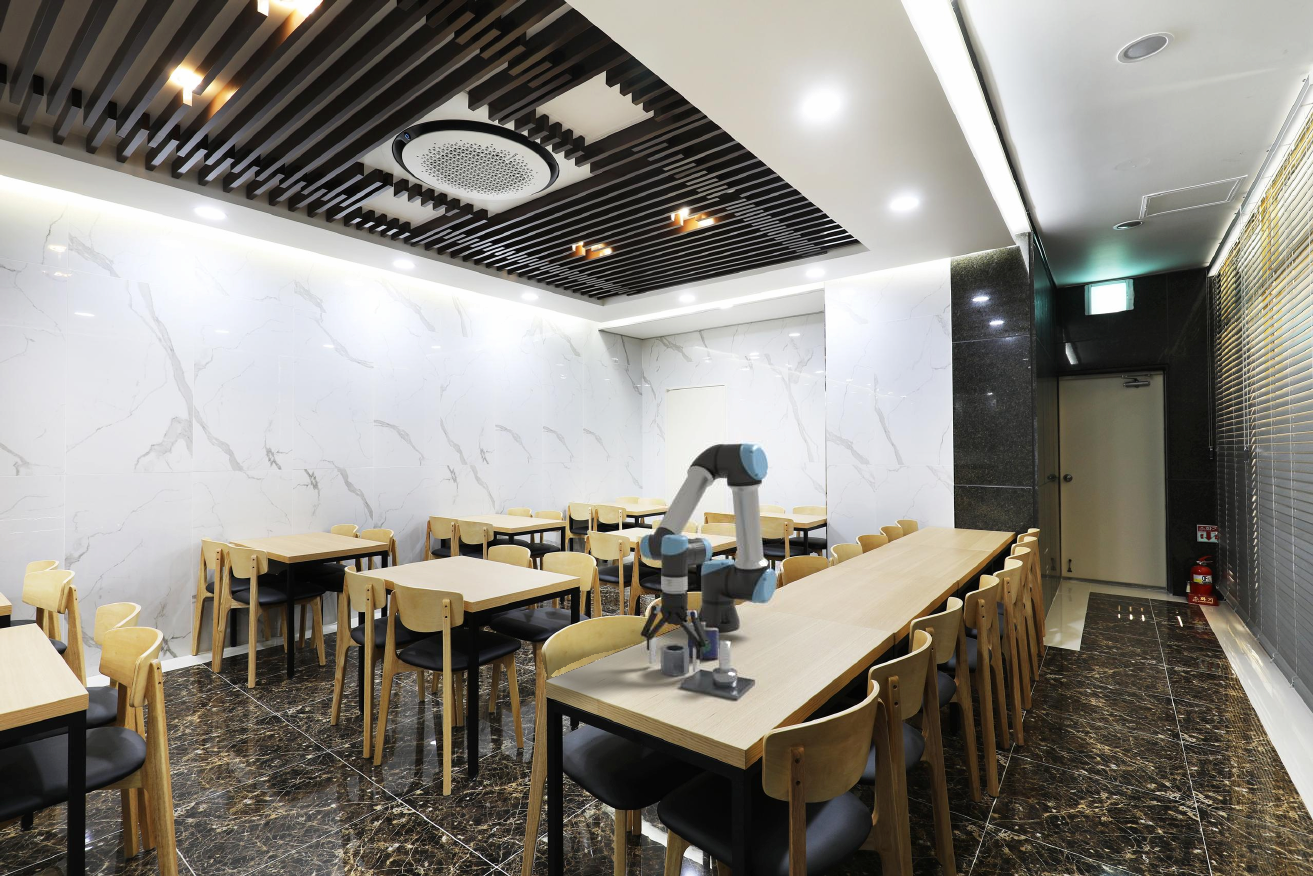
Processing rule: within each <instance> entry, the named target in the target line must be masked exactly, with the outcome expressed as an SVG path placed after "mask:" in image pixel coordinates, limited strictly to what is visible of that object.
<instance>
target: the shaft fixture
mask: <svg viewBox="0 0 1313 876" xmlns="http://www.w3.org/2000/svg"><path fill="white" fill-rule="evenodd" d="M731 643H732V642H731V640H729V639H720V640H718V645H719V648H718V652H719V658H718V667H715V668H714V669H712V670H706V669H701V668H700V670H698V671H697V672H694V673H693V674H691V675H690V676H689V677H688V678H685V679H684V680H683V681H682V682H681V683H679V684H680V686H679V689H683V690H688V691H693V692H698V693H702V694H707V695H710V696H715V697H719V698H720V697H721V698H724V699H730V700H735V701H738V700H739V699H741V698H742V697H743V696H744V695H745V694H746V693H748V691H750V690H751V689H752V688H753V687H754V686H755V685H756V679H753V678H747V677H742V676H738V671H737V669H735V668H732V667H731V665H732V664H731V663H732V659H731V652H732V651H731Z"/></svg>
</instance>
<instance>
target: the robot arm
mask: <svg viewBox="0 0 1313 876" xmlns="http://www.w3.org/2000/svg"><path fill="white" fill-rule="evenodd" d="M768 463H769V462H768V458H767V455H766V453H765V451H764V450H763V448H762V447H761V446H760V445H758V444H753V443H728V444H727V443H726V444H724V443H719V444H714V445H711V446H709V447H708V448H707V449H705V450H703V451H702V452H701V453H700V454H698V456H697V457H695V459H694V460H693V461H692V463H691V464H690V465H689V468H687V476H686V478H685V480H684V482H683V483H682V485H681V486H680V488H679V490H678V492H677V493H676V495H675V497H674V499H673V500H672V502H671V504H670V506H668V509H667V510H666V512H665V513H664V516H663V518H662V519H661V521H660V523H659V524H658V526H657V528H656V529H655V531H654V533H653V534H652V533H650V534H646V535H644V536H643V537H641V539H640V543H639V552H640V554H641V556H642V557H643V558H645V559H649V560H651V561H661V573H660V575H661V576H660V582H661V584H660V589H661V590H662V591H661V592H660V603H661V606H660V605H659V604H658V603H656V604H654V605H651V606H650V607H651V608H650V613H649V616H648V618H647V619H646V622H645V624H644V626H643V627H642V630H641V632H640V636H641V637H644V638H645V639H646V650H647V651H649V652H648V663H649V664H650V665H652V664H654V663H656V662H657V638H656V637H655V636H656V635H657V633H658V632H659V631H660V630H661V629H662V628H663V627H664V626H665V624H667V625H674V626H680V628H682V629H683V631H684V633H685V634H686V635H687V637H688V636H689V638H690V639H691V641H692V642H693V644H694V645H695V647H694V648H693V659H692V672H693V673H696V672H697V671H699V670H700V669H701V668H700V667H701V665H700V664H701V663H700V662H701V659H702V648H703V647H705V646H707V645H708V644H709V641H708V638H707V636H706V634H705V631H704V629H703V627H702V624H701V622H706V624H705V626H706V627H705V628H717V629H718V633H723V632H724V633H725V632H732V631H736V630H739V628H740V627H741V625H740V624H741V623H740V622H741V620H740V617H739V613H738V611H737V608H736V605H735V602H736V601H735V600H738V601H744V602H749V603H753V604H766V603H768V602H770V601H771V599H772V597H773V596H774V594H775V591H776V589H777V588H776V587H777V581H778V580H777V573H776V571H775V570H774V569H773V568H770V567H769V565H770V564H769V560H768V559H766V558H765V556H764V547H763V536H762V524H761V509H760V500H759V499H760V498H759V487H760V486H761V485H762V484H763V479H765V478H766V477H767V474H768V469H769V466H768V465H769V464H768ZM718 479H726V486H727V487H728V488H729V489H731V490H732V502H733V503H732V504H733V515H734V527H735V539H736V551H737V559H736V560H734V559H732V558H726V559H725V558H724V559H722V558H721V559H713V560H711V558H712V555H713V546H712V544H711V542H710V541H709V540H708V539H706V538H705V537H704V538H703V537H695V538H688V536H687V535H683V531H684V530H685V528H686V526H687V524H688V522H689V521H690V519H691V517H692V516H693V514H694V512H695V510H696V508H697V507H698V506H699V505H698V504H699V503H700V501H701V499H702V497H703V495H704V494H705V492H706V490H707V488H708V487H709V488H710V487H711V486H712V485H713V484H714V482H715V481H716V480H718ZM698 565H701V573H700V576H701V604H700V609H699V611H698V609H694V610H689V609H688V605H689V602H688V600H689V599H688V595H689V594H688V591H687V590H688V589H689V584H688V583H689V579H688V577H689V576H688V575H689V567H693V566H698ZM658 614H661V616H662V617H661V618H660V619H659V621H658V622H657V623H656V624H655V625H654V623H655V620H656V619H657V617H658ZM687 617H688V618H689V619H690V620H689V619H688V618H687ZM690 621H691V623H690ZM691 624H692V625H691ZM653 625H654V627H653ZM692 626H694V629H695V631H696V632H695V631H694V629H693V628H692ZM652 627H653V628H652ZM696 633H697V634H696ZM702 660H703V659H702Z"/></svg>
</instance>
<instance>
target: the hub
mask: <svg viewBox="0 0 1313 876" xmlns="http://www.w3.org/2000/svg"><path fill="white" fill-rule="evenodd" d="M660 671H661V673H662V674H663V675H665V676H668V677H674V678H675V677H681V676H682V677H683V676H686V675H687V674H689V672H690V658H689V648H688V645H685V644H681V643H670V644H669V643H667V644H664V645H663V646H661V647H660Z"/></svg>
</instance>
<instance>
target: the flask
mask: <svg viewBox="0 0 1313 876" xmlns="http://www.w3.org/2000/svg"><path fill="white" fill-rule="evenodd" d="M701 624H702V627H703V629H704V631H705V634H706V636H707V638H708V641H709V644H708V645H707V646H705V647H703V648H702V659H700V661H701V660H705V661H717V660H719V632H718V629H717V628H705V627H706V626H705V624H706V622H701ZM691 626H692V628H693V629H694V626H693V625H691ZM694 631H695V629H694ZM695 632H696V631H695ZM696 634H697V633H696ZM687 647H688V648H689V659H691V660H693V648H694V647H695V645H694V644H693V642H692V641H691V639H690V638H689V636H688V635H687Z"/></svg>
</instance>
